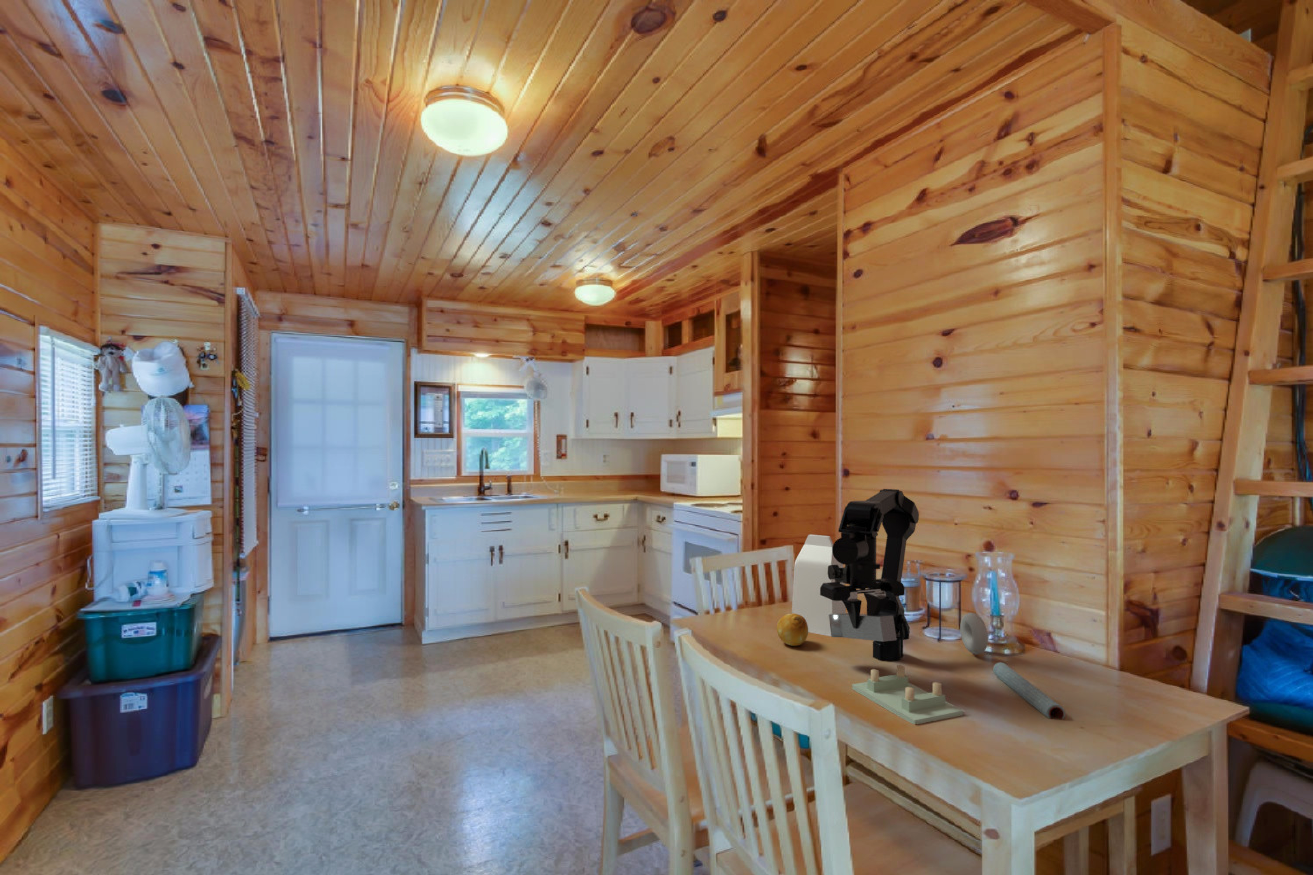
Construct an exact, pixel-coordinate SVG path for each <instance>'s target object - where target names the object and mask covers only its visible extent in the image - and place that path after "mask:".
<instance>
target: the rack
mask: <svg viewBox="0 0 1313 875" xmlns="http://www.w3.org/2000/svg"><path fill="white" fill-rule="evenodd" d="M905 672H906V667H905V666H904V665H901V664H897V665H896V673H895V674H890V675H885V676H880V670H878V669H875V668H873V669H871V670H870V678H868V679H867V681H865V682H859V683H852V684H851V687H852V689H851V690H853V691H855V692H857V693H858V694H860V695H862V696H864V697H865V698H867V699H868V700H870V701H871V702H873V703H875V704H877V705H879V706H881V707H882V708H884V709H886V710H887V711H889V712H890V713H892V714H895V716H897V717H899V718H901V719H903V720H904V721H907V722H909V723H910V724H912V725H914V724H917V725H921V724H925V723H926V722H927V723H931V721H932V722H934V721H935V722H936V721H941V720H946V719H949V718H955V717H960V716H964V710H963V709H961V708H960V707H958V706H955V705H954V704H952V703H949V702H948V701H946V695H945V694H943V693H942V683H940V682H932V692H928V691H926V690H924V689H922V688H920V687H919V686H916V685H914V684H912V683H910V682H909V676H907V675H906V673H905ZM927 723H926V724H927Z"/></svg>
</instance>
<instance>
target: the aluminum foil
mask: <svg viewBox="0 0 1313 875" xmlns="http://www.w3.org/2000/svg"><path fill="white" fill-rule="evenodd" d="M992 668H993V669H992V671H993V675H994V676H996V677H997V678H998V679H999V680H1000V681H1002V682H1003V683H1004V684H1005V685H1006V686H1008V687H1009V688H1010V689H1011V690H1013V691H1014V692H1015V693H1016V694H1018V695H1019V696H1020V697H1021V698H1023V700H1025V701H1026V702H1027V703H1028V704H1030V705H1031V706H1032V707H1034V708H1035V709H1037V710H1038V711H1039V712H1040V713H1041V714H1042V715H1043V716H1045V717H1046V718H1048V719H1052V720H1053V717H1052V716H1051V714H1052V715H1053V716H1056V718H1058V719H1060V720H1064V719H1065V716H1066V710H1065V708H1064V707H1063V706H1062V705H1060V704H1059V703H1057V702H1056V701H1055V700H1053V699H1052V698H1051V697H1049V696H1048V695H1047V694H1046V693H1044V692H1043V691H1042V690H1040V689H1039V688H1037V687H1036V686H1035V685H1034V684H1032V683H1031V682H1030V681H1028V679H1026V678H1024V676H1022V675H1021V674H1019V673H1018V672H1017V671H1016V670H1014V669H1013V668H1011V667H1010V666H1008V665H1007V664H1006V663H1004V662H1001V661H1000V662H996V663H994V666H993V667H992Z"/></svg>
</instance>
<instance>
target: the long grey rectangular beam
mask: <svg viewBox="0 0 1313 875" xmlns="http://www.w3.org/2000/svg"><path fill="white" fill-rule="evenodd" d="M829 621H830V630H831V636H830V637H832V638H845V639H846V638H847V639H854V640H855V639H856V640H864V641H872V642H873V641H883V642H884V641H893V640H897V639H896V632H895V625H894V618H893V615H871V614H867V613H860V618H859V624H858V628H857V629H855V628H853V626H852V623H851V620H850V617H849V614H848V612H846V613H836V614H829Z"/></svg>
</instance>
